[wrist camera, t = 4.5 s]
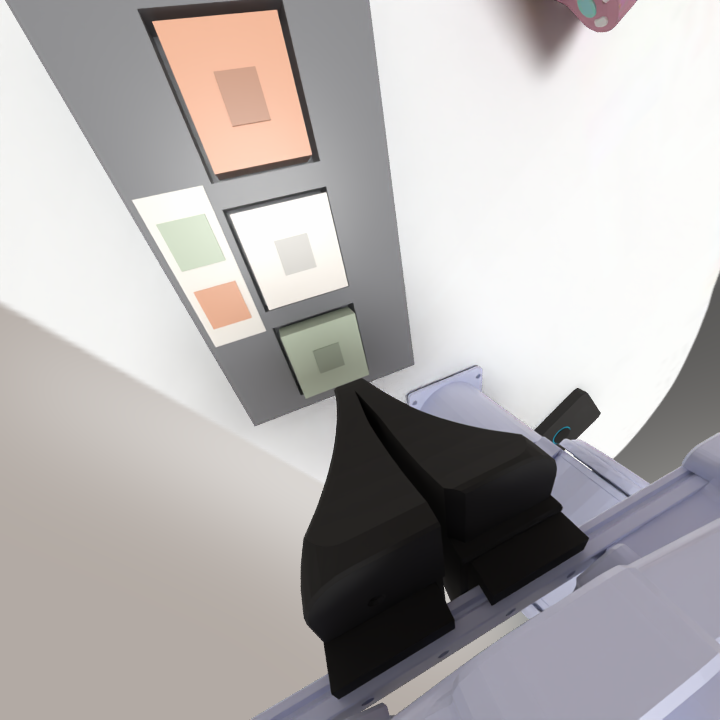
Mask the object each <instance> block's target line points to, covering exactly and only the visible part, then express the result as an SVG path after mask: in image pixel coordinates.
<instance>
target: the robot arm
mask: <svg viewBox="0 0 720 720" xmlns="http://www.w3.org/2000/svg"><path fill="white" fill-rule="evenodd" d="M334 393H335V396H336V401H337V426H336V437H335V444H334V450H333V455H332V459H331V463H330V468H329V472H328V475H327V479H326V482H325V485H324V488H323V491H322V494H321V497H320V500H319V503H318V505H317V508H316V511H315V513H314V515H313V518H312V520H311V523H310V525H309V527H308V529H307V532H306V534H305V537H304V540H303V549H302V559H301V595H302V605H303V614H304V619H305V621H306V624H307V625H308V626H309V627H310V628H311V629H312V630H313V632H314V633H315V634H316V635H317V636H318V637H319V638H320V639H321V640H322V641H323V642H324V648H325V655H326V662H327V669H328V674H327V675H325V676H323V677H321V678H320V679H318V680H316V681H314V682H313V683H311V684H309V685H308V686H306V687H304V688H302V689H301V690H299V691H297V692H296V693H294V694H292V695H291V696H289V697H287V698H285V699H284V700H282V701H280V702H279V703H277V704H276V705H274V706H272V707H270V708H268V709H267V710H265V711H263V712H262V713H260V714H258V715H257V716H255V717H253V718H251V719H250V720H720V432H719V433H717V434H715V435H714V436H712V437H710V438H708V439H707V440H705V441H703V442H702V443H700V444H698V445H697V446H695V447H694V448H693V449H692V450H691V451H690V452H689V453H688V454H687V456H686V457H685V458H684V460H683V462H682V466H680V467H679V468H677V469H675V470H674V471H672V472H670V473H669V474H667V475H665V476H663V477H662V478H660V479H658V480H657V481H655V482H653V483H652V484H649V483H648V482H646V481H645V480H643V479H642V478H640V477H639V476H638V475H636V474H635V473H633V472H632V471H630V470H628V469H627V468H626V467H624V466H623V465H621V464H619V463H618V462H616V461H615V460H613V459H612V458H610V457H609V456H607V455H606V454H604V453H602V452H601V451H599V450H598V449H596V448H594V447H593V446H591V445H589V444H588V443H586V442H584V441H582V440H569V439H564V440H562V442H561V443H560V445H561V446H562V447H563V448H565V449H566V450H567V451H569V452H570V453H572V454H573V455H574V457H575V458H577V459H578V460H579V461H581V462H582V463H584V464H585V465H586V466H588V467H589V468H590V469H592V471H591V470H589V469H588V468H587V467H585V466H584V465H583V464H581V463H580V462H579V461H577V460H576V459H574V458H573V457H572V456H570V455H569V454H568V453H566V452H565V451H563V450H562V449H561V448H559V447H558V446H557V445H555V444H554V443H552V442H551V441H550V440H548V439H547V438H546V437H542V436H541V435H539V434H538V433H537V432H535V431H534V430H533V429H531V428H530V427H528V426H527V425H526V424H524V423H523V422H522V421H520V420H519V419H518V418H516V417H515V416H513V415H512V414H511V413H509V412H508V411H507V410H505V409H504V408H503V407H501V406H500V405H499V404H497V403H496V402H494V401H493V400H492V399H490V398H489V397H488V396H486V395H485V394H484V393H482V368H481V367H479V366H476V367H473V368H471V369H468V370H466V371H463V372H461V373H459V374H456V375H454V376H451V377H449V378H446V379H444V380H441V381H439V382H437V383H434V384H432V385H429V386H427V387H424V388H422V389H419V390H417V391H415V392H412V393H410V394H409V395H408V405H407V404H405V403H403V402H401V401H399V400H397V399H395V398H394V397H392V396H390V395H388V394H386V393H385V392H383V391H381V390H380V389H378V388H377V387H375V386H374V385H372V384H371V383H369V382H368V381H366V380H365V379H363V378H360V379H357V380H355V381H352V382H349V383H347V384H344V385H341V386H339V387H336V388H335V390H334ZM413 401H415V402H413ZM444 587H445V589H446V591H447V594H448V596H449V598H450V600H451V602H449V603H446V601H445V594H444V593H445V592H444ZM519 611H521V612H522V613H523V614H524V615H525V616H526V617H527V618H528V619H529V620H528V621H526V622H525V623H523V624H522V625H520V626H518V627H517V628H515V629H514V630H512V631H511V632H509V633H508V634H506V635H505V636H503V637H502V638H500V639H499V640H497V641H496V642H495V643H493V644H492V645H490V646H489V647H487V648H486V649H484V650H483V651H481V652H480V653H479V654H477V655H476V656H474V657H473V658H472V659H470V660H469V661H468V662H466V663H465V664H463V665H462V666H461V667H459V668H458V669H457V670H455V671H454V672H453V673H451V674H450V675H449V676H447V677H446V678H444V679H443V680H442V681H440V682H439V683H438V684H436V685H435V686H434V687H432V688H431V689H430V690H429V691H427V692H426V693H424V694H423V695H422V696H420V697H419V698H418V699H416V700H415V701H414V702H412V703H411V704H410V705H409V706H407V707H406V708H405V709H403V710H402V711H401V712H399V713H398V714H397V715H392V716H391V715H389V712H388V708H387V706H386V705H385V704H384V703H380V704H378V705H376V706H374V707H371V708H369V709H367V710H365V709H366V708H368V707H369V706H371V705H372V704H374V703H376V702H377V701H379V700H380V699H382V698H384V697H385V696H387V695H388V694H390V693H391V692H393V691H395V690H396V689H398V688H399V687H401V686H403V685H404V684H406V683H407V682H409V681H410V680H412V679H414V678H415V677H417V676H418V675H420V674H422V673H423V672H425V671H426V670H428V669H429V668H431V667H433V666H434V665H436V664H437V663H439V662H441V661H442V660H444V659H445V658H447V657H448V656H450V655H451V654H453V653H454V652H456V651H458V650H460V649H461V648H463V647H464V646H466V645H467V644H469V643H471V642H472V641H474V640H475V639H477V638H479V637H480V636H482V635H483V634H485V633H486V632H488V631H490V630H491V629H493V628H494V627H496V626H497V625H499V624H501V623H502V622H504V621H505V620H507V619H509V618H510V617H512V616H513V615H515V614H517V613H518V612H519ZM363 710H364V711H363ZM361 711H362V712H361Z"/></svg>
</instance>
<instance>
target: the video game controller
mask: <svg viewBox="0 0 720 720" xmlns="http://www.w3.org/2000/svg"><path fill="white" fill-rule="evenodd" d="M555 1H558V2H560V3H562V4H565V5H566V6H567V7H568V8H569V9H570V10H571V11H572V12H573V13H574V14H575V15H576V16H577V18H578V19H579V20H580V21H581V22H582V23H583V24H584V25H585V26H586V27H588V28H589V29H591V30H594V31H596V32H607V31H610V30H612V29H613V28H614V27H615V26H616V25H617V24H618V22H619V21H620V20H621V19H622V18H623V17H624V15H625V14H626V13H627V12H628V11H629V10H630V8H631V7H632V6H633V5H634V4H635V2H636V1H637V0H555Z"/></svg>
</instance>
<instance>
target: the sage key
mask: <svg viewBox="0 0 720 720" xmlns="http://www.w3.org/2000/svg"><path fill="white" fill-rule="evenodd" d="M279 332H280V338H281V340H282V343H283V345H284V347H285V350H286V352H287V355H288V357H289V360H290V362H291V364H292V367H293V369H294V372H295V374H296V376H297V379H298V381H299V384H300V386H301V389H302V391H303V393H304V396H305V398H306V399H307V398H309V397H312V396H314V395H317V394H320V393H322V392H325V391H328V390H330V389H333V388H335V387H338V386H341V385H343V384H346V383H349V382H351V381H354V380H356V379H359V378H362V377H364V376H367V375H369V371H368V367H367V363H366V358H365V354H364V350H363V346H362V341H361V337H360V333H359V329H358V325H357V320H356V316H355V313H354V312H353V311H352V310H351V309H350V308H349V307H345V308H342V309H339V310H335V311H332V312H329V313H326V314H323V315H320V316H317V317H314V318H311V319H308V320H305V321H301V322H298V323H295V324H292V325H289V326H286V327H283V328H280V329H279Z"/></svg>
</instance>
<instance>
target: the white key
mask: <svg viewBox="0 0 720 720" xmlns="http://www.w3.org/2000/svg"><path fill="white" fill-rule="evenodd" d="M230 217H231V219H232V222H233V224H234V227H235V229H236V231H237V234H238V236H239V239H240V241H241V244H242V246H243V248H244V251H245V253H246V256H247V258H248V260H249V263H250V265H251V268H252V270H253V273H254V275H255V277H256V280H257V282H258V285H259V287H260V289H261V292H262V294H263V297H264V299H265V302H266V304H267V306H268V309H269V310H272V309H275V308H278V307H282V306H285V305H288V304H291V303H295V302H298V301H301V300H304V299H308V298H311V297H314V296H317V295H321V294H324V293H327V292H330V291H334V290H337V289H340V288H343V287H347V286H348V282H347V278H346V274H345V269H344V265H343V261H342V257H341V252H340V248H339V244H338V240H337V235H336V231H335V227H334V223H333V218H332V214H331V210H330V206H329V201H328V197H327V193H326V192H325V193H321V194H316V195H312V196H308V197H303V198H299V199H295V200H290V201H286V202H282V203H278V204H273V205H269V206H265V207H260V208H256V209H252V210H248V211H243V212H239V213H235V214H230Z"/></svg>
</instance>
